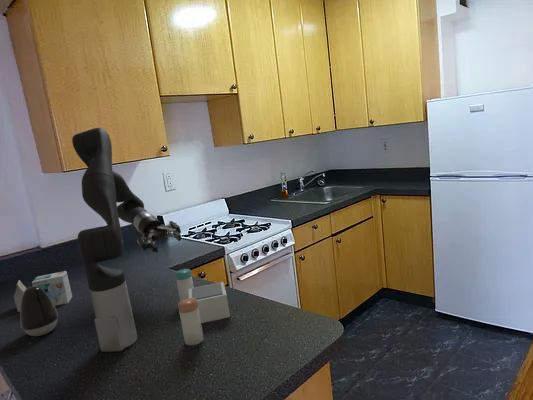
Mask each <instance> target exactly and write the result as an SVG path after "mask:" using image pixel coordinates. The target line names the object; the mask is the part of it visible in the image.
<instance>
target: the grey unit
mask: <svg viewBox="0 0 533 400" xmlns="http://www.w3.org/2000/svg"><path fill="white" fill-rule="evenodd" d="M189 298H195V299H197V304H198V309H199V315H200V320H201V324H204V323H209V322H214V321H218V320H222V319H226V318H230V317H231V314H230V308H229V302H228V300H229V299H228V295H227V291H226V287H225V283H224V281H220V282H215V283H211V284H207V285H206V284H205V285H201V286H196V287H194V288H191V289H189Z"/></svg>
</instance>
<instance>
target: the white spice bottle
mask: <svg viewBox="0 0 533 400" xmlns="http://www.w3.org/2000/svg"><path fill="white" fill-rule="evenodd" d="M177 307H178V308H177V309H178V312H179V317H180V323H181V328H182V333H183V340H184V344H185V345H186V346H196V345H198V344H200V343H202V342H203V341H204V340H205V339H204V337H205V336H204V332H203V327H202V323H201V320H200V315H199V309H198V304H197V299H195V298H187V299H184V300H181V301H180V300H179V302H178V303H177Z"/></svg>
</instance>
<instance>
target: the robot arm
mask: <svg viewBox="0 0 533 400" xmlns="http://www.w3.org/2000/svg"><path fill="white" fill-rule="evenodd" d="M71 141H72V142H71V143H72V147H73V149H74V151H75V153H76V155H77V156H78V158H79V159H80V160H81V161H82V163H83V164H84V165H85V166H86V167H87V168H86V170H85V171H84V173H83V175H82V178H81V196H82V199H83V201H84V202H85V204H86V205H87V206H88V207H89V208H90V209H91V210H92V211H94V212H95V213H96V214H98V215H99V216H100V217H101V218H102V220H103V221H105V224H107V225H104V226H96V227H92V228H87V229H83V230H80V231H79V232H78V235H77V248H78V250H79V251H78V252H79V255H80V258H81V260H82V264H83V268H84V272H85V275H86V281H87V284H88V290H89V293H90V296H91V303H92V305H93V310H94V315H95V318H94V326H95V330H96V334H97V339H98V342H99V346H100V351H101V352H103V353H104V352H122V351H123V350H124V349H126V348H128V347H130V346H132V345H133V344H135V342H136V341H137V340H138V333H137V329H136V324H135V320H134V314H133V309H132V305H131V300H130V296H129V290H128V286H127V280H126V276H125V272H124V271H123V270H122V269H118V268H111V267H106V266H104V265H100V263H101V262H106V261H110V260H115V259H118V258H120V257H122V256H123V255H124V251H125V250H124V249H125V248H124V245H125V244H124V239H123V233H122V228H121V223H120V220H122V221H123V222H125V223H129V224H132V225H133V226H134V227H135V229H136V230H137V232H139V233H140V234H141V236H136V237H135V239H136V242H137V244H138V245H139V247H140V248H141V250H142V251H144V252H145V251H147V250H148V249H149V250H150V251H151V252H153V253H156V254H157V253H159V251H158V250H159V249H158V247H157V245H155V244H156V242H158V241H159V240H161V239H164V238H171V237H174V238H175V239H176V240H177V241H178V242H180V241H182V235H181V233H182V231H181V227H180V226H179V224H177V223H175V222H174V221H173V220H169V223H168V224H163V223H162V221H160V220H159V219H157V217H155V216H154V215H153V214H151V213H150V212H148V211H147V210H146V208H145V203H144V202H143V200H141V199H140V198H139V197H138V196H137V195H136V194H134V193H133V192H132V190H131V189H130V187H129V186H128V184H127V181H125V179H124V178H123V176H122V175H121V174H119V173H118V172H117V171H115V170H113V148H112V147H113V146H112V140H111V137H110V134H109V133H108V131H107V130H106V129H105V128H103V127H96V128H91V129H88V130H85V131H82V132H79V133H76V134H74V135H73V136H72V138H71ZM117 203H119V204H118V205H117ZM145 241H146V243H145Z"/></svg>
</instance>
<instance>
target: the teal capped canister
mask: <svg viewBox="0 0 533 400" xmlns="http://www.w3.org/2000/svg"><path fill="white" fill-rule="evenodd" d="M174 274H175V279H176V285H177V291H178V296H179V302H180V301H181V300H184V299H187V298H189V289H191V288H195V287H194V281H193V277H192V271H191V269H190V268H182V269H179V270H177V271H176V272H175V273H174Z"/></svg>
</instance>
